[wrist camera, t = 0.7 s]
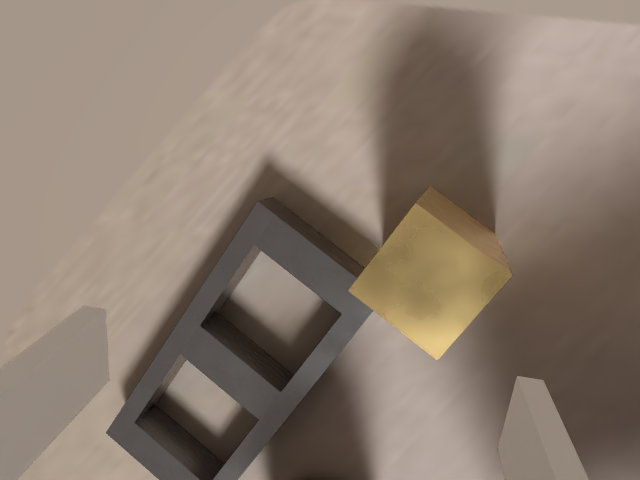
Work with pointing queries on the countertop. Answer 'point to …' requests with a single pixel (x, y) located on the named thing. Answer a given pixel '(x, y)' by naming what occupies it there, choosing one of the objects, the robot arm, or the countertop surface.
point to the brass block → (434, 273)
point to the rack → (240, 350)
